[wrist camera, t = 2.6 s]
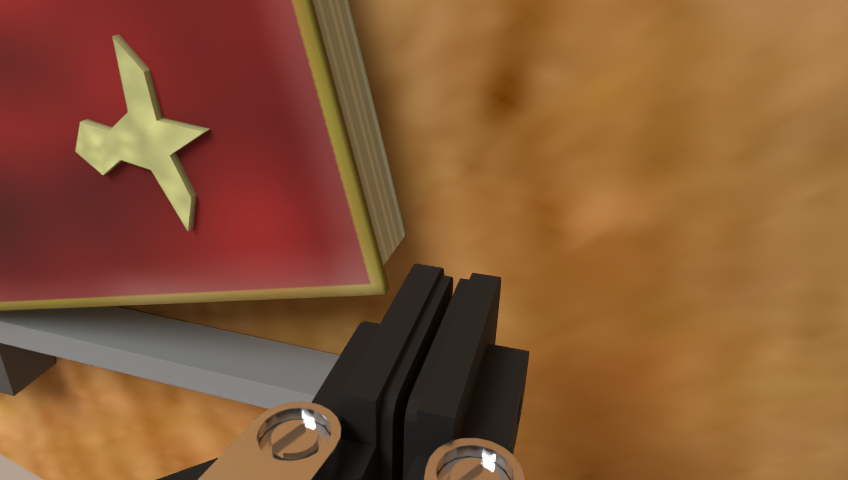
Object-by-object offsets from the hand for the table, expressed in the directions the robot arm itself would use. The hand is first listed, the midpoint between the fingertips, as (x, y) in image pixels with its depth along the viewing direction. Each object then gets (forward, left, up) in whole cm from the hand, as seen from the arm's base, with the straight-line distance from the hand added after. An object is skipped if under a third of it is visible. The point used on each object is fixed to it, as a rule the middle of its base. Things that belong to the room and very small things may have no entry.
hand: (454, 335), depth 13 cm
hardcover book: (+15, 0, -10) cm, 18 cm away
